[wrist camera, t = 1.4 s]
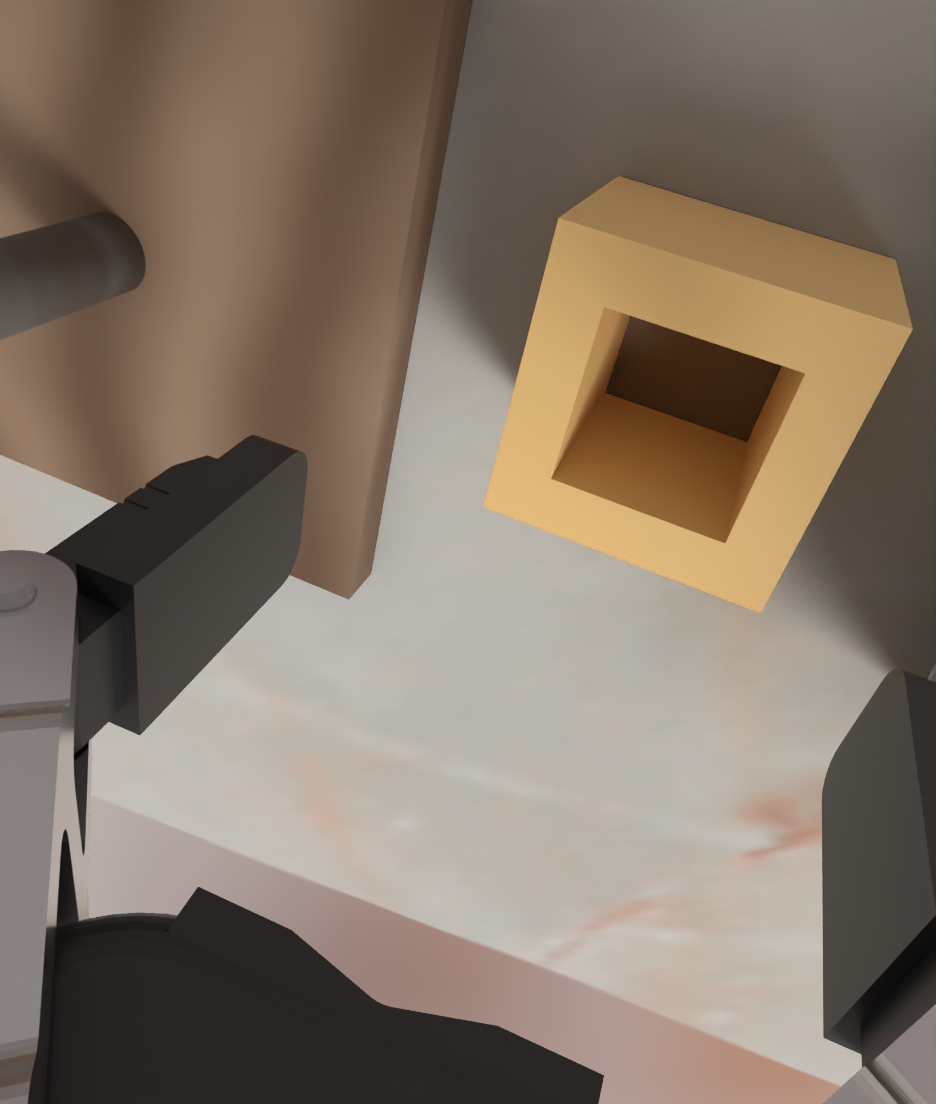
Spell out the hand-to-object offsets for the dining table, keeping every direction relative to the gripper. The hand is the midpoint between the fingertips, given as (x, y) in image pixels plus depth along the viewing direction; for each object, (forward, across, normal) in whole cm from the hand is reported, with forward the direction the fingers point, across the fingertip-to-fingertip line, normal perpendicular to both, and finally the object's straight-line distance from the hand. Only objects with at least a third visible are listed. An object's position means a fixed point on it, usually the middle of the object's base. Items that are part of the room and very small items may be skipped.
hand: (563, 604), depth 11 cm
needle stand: (+11, +14, +2) cm, 18 cm away
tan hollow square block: (+11, -1, 0) cm, 11 cm away
